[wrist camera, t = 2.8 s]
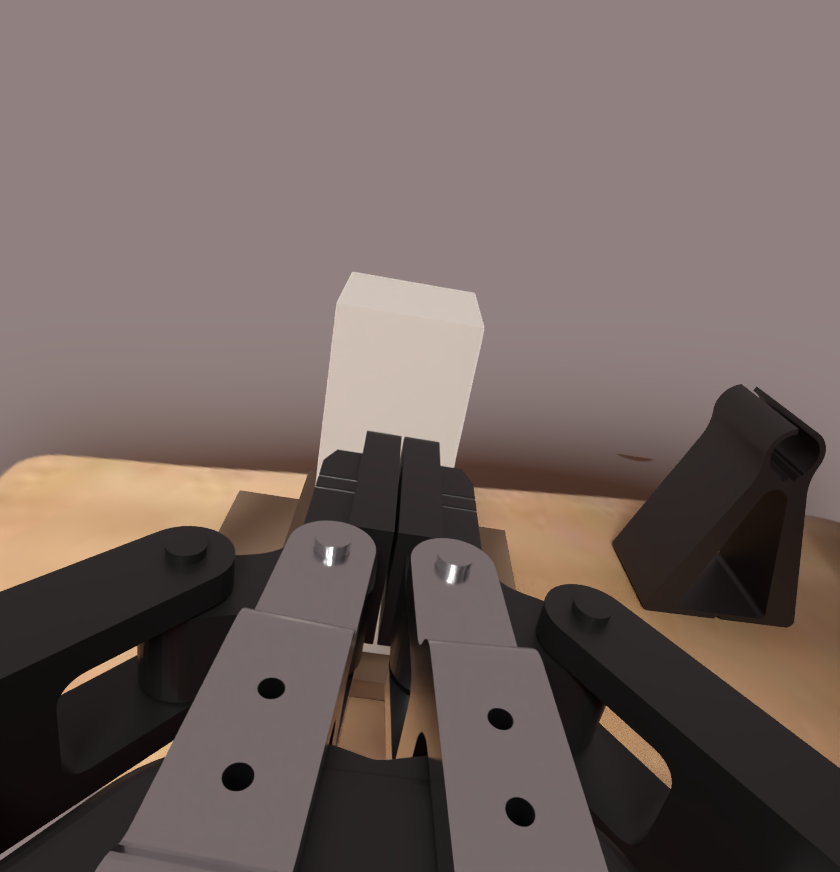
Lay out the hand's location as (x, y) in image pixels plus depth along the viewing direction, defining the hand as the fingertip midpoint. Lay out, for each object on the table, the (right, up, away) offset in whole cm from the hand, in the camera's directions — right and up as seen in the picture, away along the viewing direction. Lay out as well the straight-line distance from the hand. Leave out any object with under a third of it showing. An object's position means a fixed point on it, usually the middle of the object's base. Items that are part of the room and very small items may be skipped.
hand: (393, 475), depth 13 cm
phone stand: (+17, -8, +26) cm, 32 cm away
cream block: (-2, -7, +17) cm, 19 cm away
